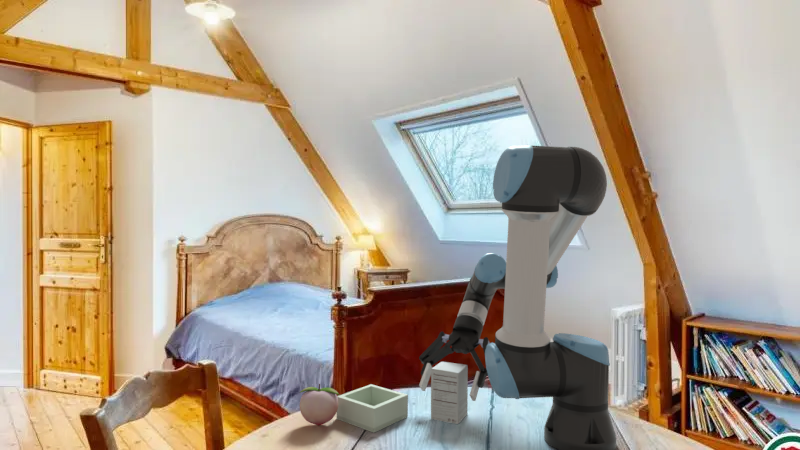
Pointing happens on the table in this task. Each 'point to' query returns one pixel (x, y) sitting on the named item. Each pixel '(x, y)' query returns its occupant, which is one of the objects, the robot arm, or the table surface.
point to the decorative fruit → (318, 404)
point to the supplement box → (449, 392)
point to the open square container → (372, 407)
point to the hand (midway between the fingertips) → (446, 393)
